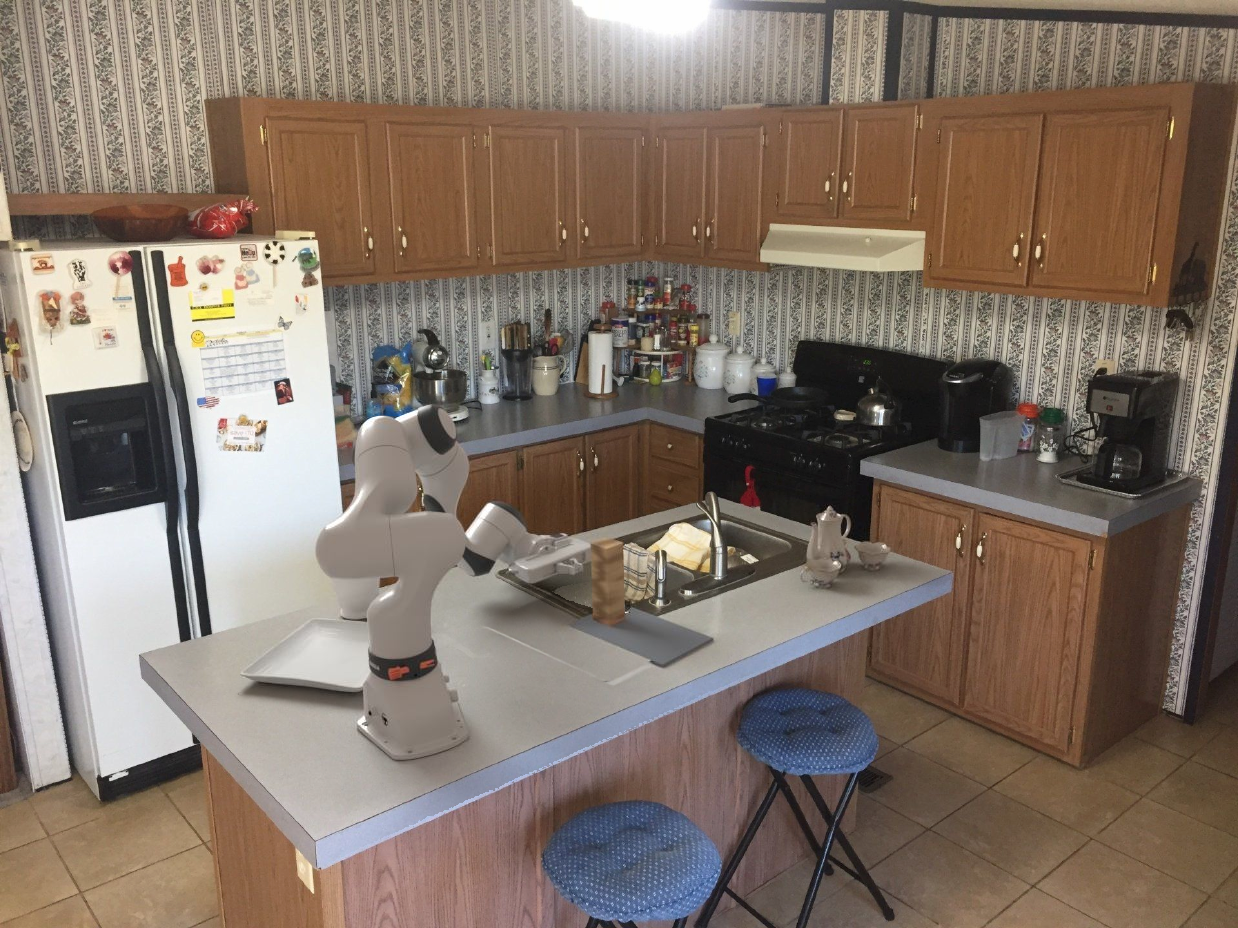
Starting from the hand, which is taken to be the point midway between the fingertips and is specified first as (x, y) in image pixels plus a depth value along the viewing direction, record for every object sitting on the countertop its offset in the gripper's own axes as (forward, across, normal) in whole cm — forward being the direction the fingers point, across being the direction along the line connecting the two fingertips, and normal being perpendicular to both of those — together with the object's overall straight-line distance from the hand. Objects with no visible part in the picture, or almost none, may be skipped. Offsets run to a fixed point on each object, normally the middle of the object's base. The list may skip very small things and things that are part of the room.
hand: (578, 569), depth 228 cm
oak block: (+9, 0, +9) cm, 13 cm away
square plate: (-19, -51, +11) cm, 55 cm away
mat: (+18, 0, +10) cm, 21 cm away
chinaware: (+31, +57, +10) cm, 66 cm away
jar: (-37, -34, +10) cm, 52 cm away
